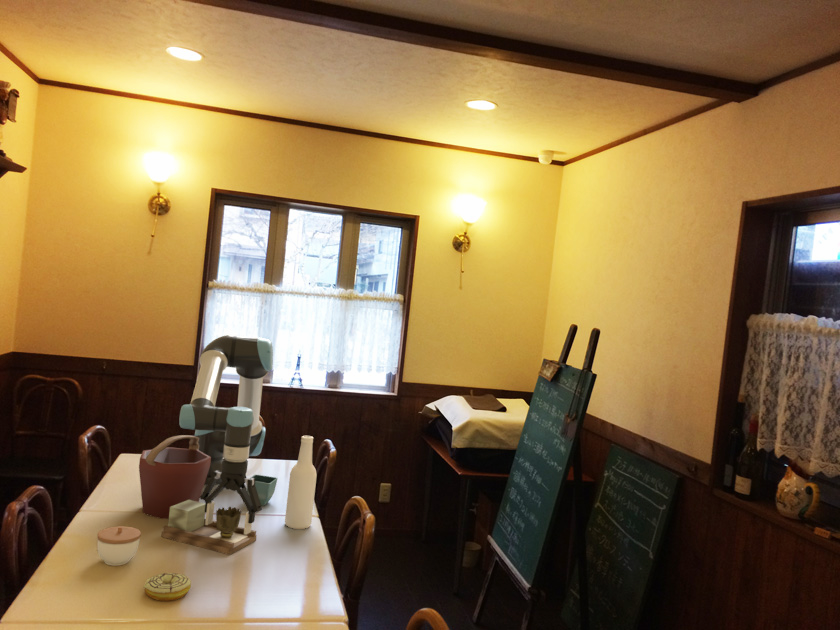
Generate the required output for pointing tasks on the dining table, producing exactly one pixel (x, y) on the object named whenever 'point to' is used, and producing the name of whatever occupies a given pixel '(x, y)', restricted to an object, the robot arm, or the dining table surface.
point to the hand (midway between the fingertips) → (227, 528)
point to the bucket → (172, 475)
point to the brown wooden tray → (202, 529)
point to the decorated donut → (167, 586)
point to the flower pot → (264, 487)
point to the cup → (227, 521)
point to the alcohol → (301, 488)
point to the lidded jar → (118, 544)
